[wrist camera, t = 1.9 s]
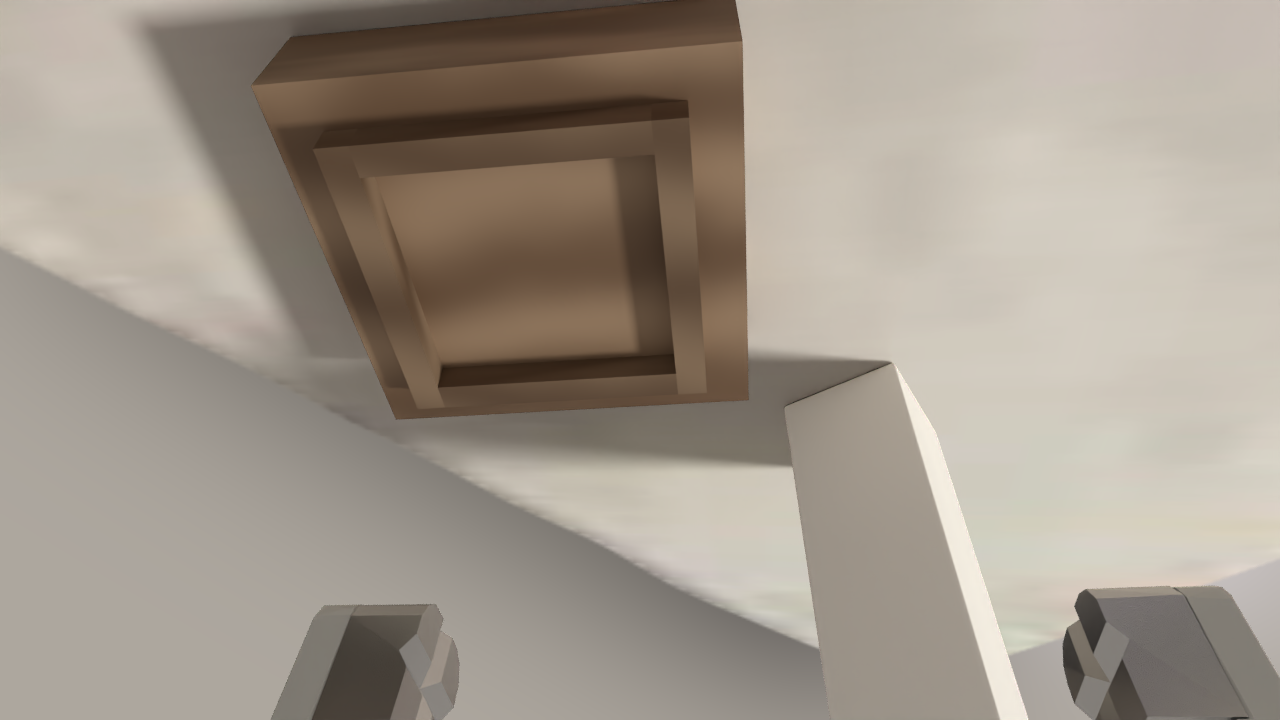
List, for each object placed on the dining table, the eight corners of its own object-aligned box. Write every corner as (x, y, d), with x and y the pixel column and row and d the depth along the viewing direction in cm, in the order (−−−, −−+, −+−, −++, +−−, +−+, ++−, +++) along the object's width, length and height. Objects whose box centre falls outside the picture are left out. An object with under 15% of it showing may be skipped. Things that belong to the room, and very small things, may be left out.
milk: (893, 360, 41) (1051, 871, 24) (936, 431, 44) (1100, 922, 28) (780, 406, 43) (855, 902, 27) (829, 471, 46) (923, 946, 30)
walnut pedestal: (290, 37, 30) (237, 102, 26) (734, -6, 29) (745, 57, 25) (415, 360, 41) (389, 439, 37) (742, 339, 40) (750, 419, 36)
